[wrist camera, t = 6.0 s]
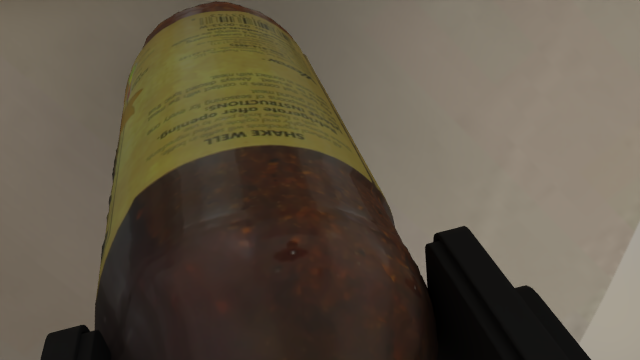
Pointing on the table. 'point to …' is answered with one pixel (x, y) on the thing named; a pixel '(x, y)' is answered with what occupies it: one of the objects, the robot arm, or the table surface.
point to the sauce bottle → (248, 210)
